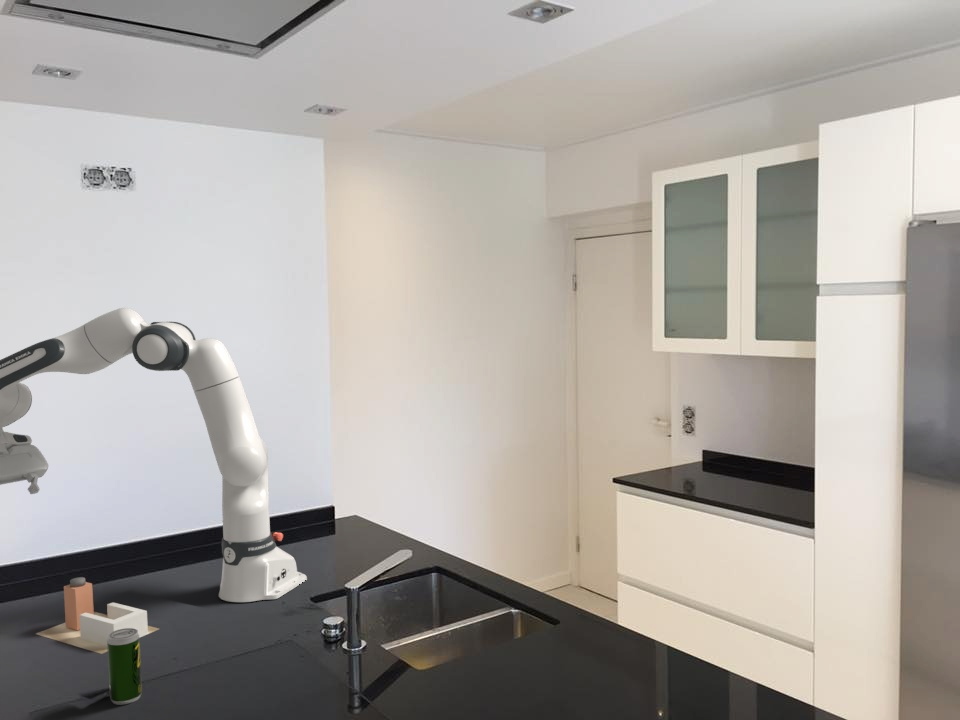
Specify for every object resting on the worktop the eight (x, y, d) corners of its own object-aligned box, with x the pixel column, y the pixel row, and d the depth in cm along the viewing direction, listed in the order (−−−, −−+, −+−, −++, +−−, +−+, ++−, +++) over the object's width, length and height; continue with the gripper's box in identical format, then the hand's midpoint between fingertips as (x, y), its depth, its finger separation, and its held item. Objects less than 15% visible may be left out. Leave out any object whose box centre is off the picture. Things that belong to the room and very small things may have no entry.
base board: (94, 618, 185) (94, 611, 185) (160, 635, 175) (159, 628, 175) (35, 640, 173) (35, 633, 173) (101, 661, 162) (101, 653, 162)
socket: (114, 624, 177) (113, 602, 177) (148, 633, 172) (146, 610, 172) (80, 638, 170) (79, 614, 170) (114, 648, 165) (113, 624, 165)
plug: (82, 620, 179) (80, 575, 179) (94, 623, 178) (91, 578, 177) (65, 627, 176) (63, 581, 175) (77, 630, 174) (74, 583, 173)
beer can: (112, 708, 143) (109, 642, 142) (107, 696, 147) (104, 632, 147) (145, 699, 146) (142, 634, 145) (139, 688, 150) (136, 625, 150)
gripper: (-53, 447, 178) (-26, 496, 174) (36, 434, 196) (62, 479, 192) (-64, 464, 180) (-37, 514, 176) (25, 451, 198) (51, 495, 194)
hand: (15, 496), depth 184 cm, fingers open, 8 cm apart
